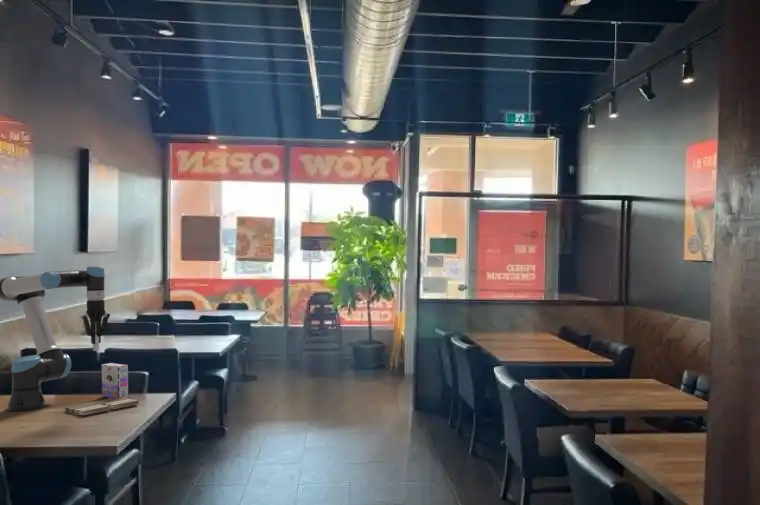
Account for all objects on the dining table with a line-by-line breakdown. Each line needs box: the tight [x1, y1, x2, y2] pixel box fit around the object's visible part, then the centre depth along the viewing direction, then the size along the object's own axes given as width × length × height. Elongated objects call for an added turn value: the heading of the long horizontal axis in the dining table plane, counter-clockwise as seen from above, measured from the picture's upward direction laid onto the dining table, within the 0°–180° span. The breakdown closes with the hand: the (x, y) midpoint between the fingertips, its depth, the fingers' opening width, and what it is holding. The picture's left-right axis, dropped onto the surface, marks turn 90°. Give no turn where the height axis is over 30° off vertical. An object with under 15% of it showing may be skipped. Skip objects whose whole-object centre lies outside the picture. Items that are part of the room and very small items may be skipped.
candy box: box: [100, 362, 129, 399], centre depth 313 cm, size 14×6×16 cm, turn 58°
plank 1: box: [74, 405, 111, 416], centre depth 283 cm, size 8×12×2 cm
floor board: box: [64, 397, 130, 415], centre depth 293 cm, size 8×27×2 cm, turn 141°
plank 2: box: [105, 398, 140, 410], centre depth 294 cm, size 8×12×2 cm
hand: (95, 350), depth 293 cm, fingers closed
